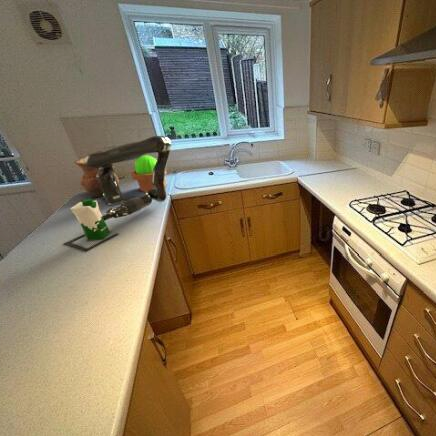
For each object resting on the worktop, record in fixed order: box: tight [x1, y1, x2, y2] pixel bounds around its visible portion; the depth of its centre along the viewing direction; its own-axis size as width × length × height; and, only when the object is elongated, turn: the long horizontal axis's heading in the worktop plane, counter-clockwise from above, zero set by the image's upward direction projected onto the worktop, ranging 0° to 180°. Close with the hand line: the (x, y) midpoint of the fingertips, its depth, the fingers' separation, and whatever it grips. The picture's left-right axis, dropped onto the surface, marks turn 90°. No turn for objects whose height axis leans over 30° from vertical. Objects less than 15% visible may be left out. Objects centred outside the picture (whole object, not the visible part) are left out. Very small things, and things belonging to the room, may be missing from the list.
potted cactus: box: [130, 154, 168, 193], centre depth 175 cm, size 22×22×25 cm
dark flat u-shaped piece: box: [63, 233, 119, 252], centre depth 120 cm, size 17×16×1 cm
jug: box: [74, 157, 120, 197], centre depth 170 cm, size 22×21×25 cm
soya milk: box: [69, 197, 111, 241], centre depth 117 cm, size 9×9×20 cm
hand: (101, 219), depth 122 cm, fingers closed
